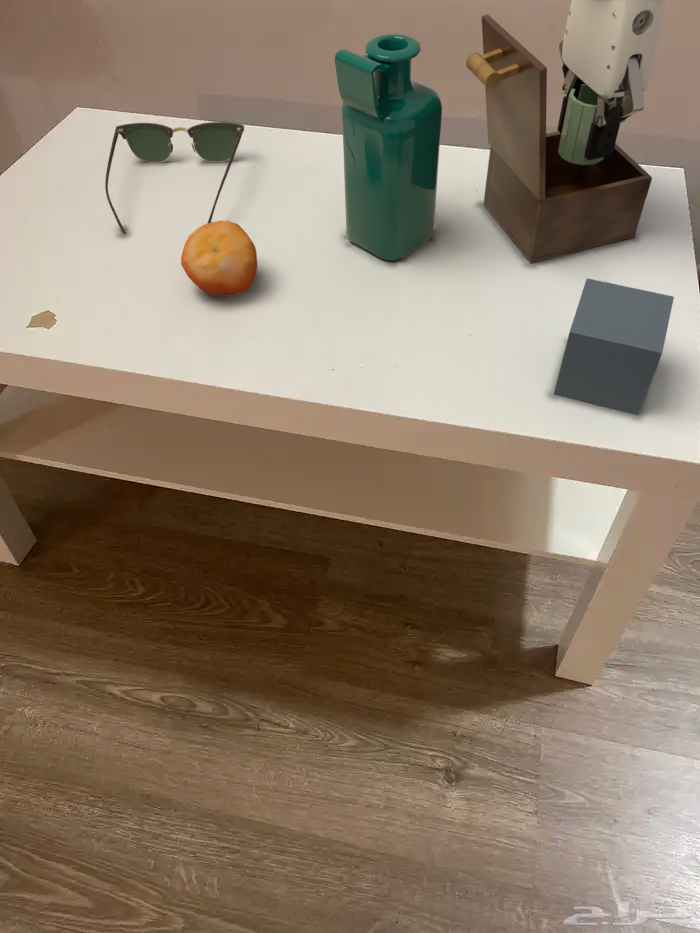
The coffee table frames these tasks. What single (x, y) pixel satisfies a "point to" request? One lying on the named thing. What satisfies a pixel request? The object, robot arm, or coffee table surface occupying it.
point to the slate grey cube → (614, 345)
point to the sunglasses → (156, 145)
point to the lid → (514, 103)
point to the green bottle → (388, 147)
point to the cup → (579, 125)
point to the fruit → (220, 258)
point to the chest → (568, 203)
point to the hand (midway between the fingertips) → (584, 141)
